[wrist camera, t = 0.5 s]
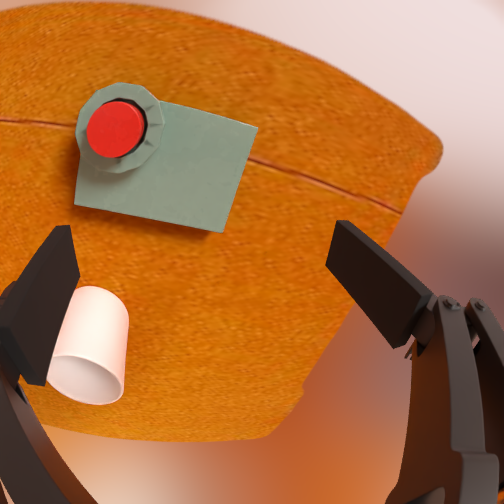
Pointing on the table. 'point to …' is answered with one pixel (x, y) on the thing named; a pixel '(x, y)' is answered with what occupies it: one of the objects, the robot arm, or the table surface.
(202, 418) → the table surface
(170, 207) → the housing
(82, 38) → the table surface
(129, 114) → the button
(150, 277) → the table surface
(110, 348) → the mug
